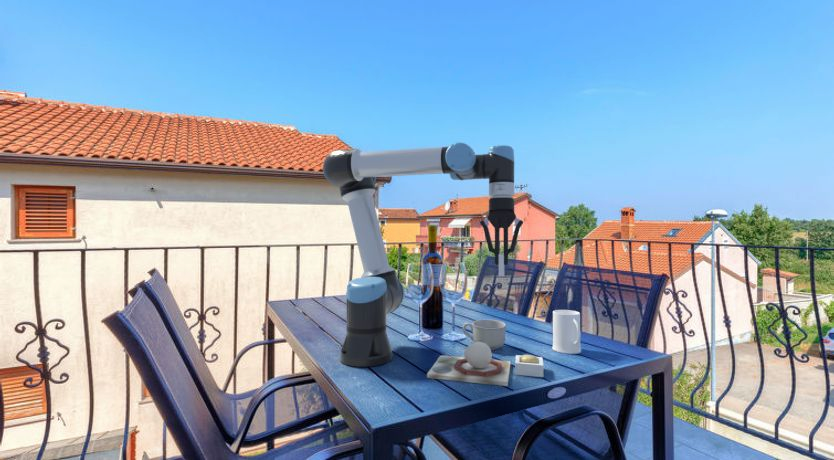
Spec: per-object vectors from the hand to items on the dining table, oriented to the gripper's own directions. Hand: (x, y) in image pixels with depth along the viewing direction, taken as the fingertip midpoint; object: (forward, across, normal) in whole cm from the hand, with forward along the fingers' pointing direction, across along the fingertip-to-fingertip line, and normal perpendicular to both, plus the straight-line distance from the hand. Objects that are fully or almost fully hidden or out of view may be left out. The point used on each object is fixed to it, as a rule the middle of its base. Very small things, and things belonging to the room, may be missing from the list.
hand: (501, 275), depth 116 cm
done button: (+22, +8, -11) cm, 26 cm away
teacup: (+24, -6, +8) cm, 27 cm away
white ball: (+23, -5, -16) cm, 28 cm away
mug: (+24, +20, +11) cm, 33 cm away
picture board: (+24, -7, -16) cm, 30 cm away
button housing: (+24, +8, -11) cm, 28 cm away
